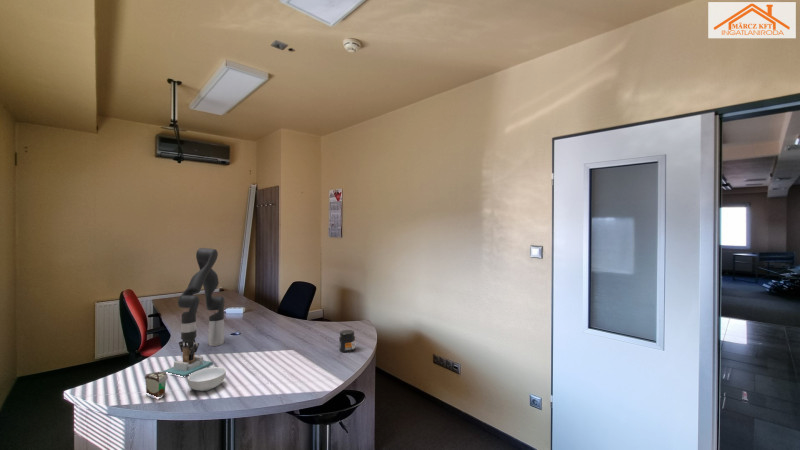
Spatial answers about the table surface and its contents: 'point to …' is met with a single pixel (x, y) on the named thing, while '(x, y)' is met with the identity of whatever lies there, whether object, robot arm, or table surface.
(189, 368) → the dish
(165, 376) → the food container
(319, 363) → the table surface
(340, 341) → the supplement container
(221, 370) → the cereal bowl
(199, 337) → the table surface
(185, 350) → the brown upright block
